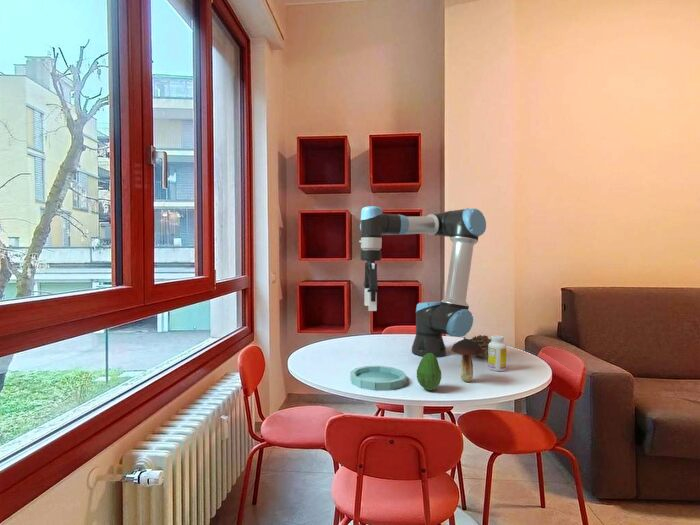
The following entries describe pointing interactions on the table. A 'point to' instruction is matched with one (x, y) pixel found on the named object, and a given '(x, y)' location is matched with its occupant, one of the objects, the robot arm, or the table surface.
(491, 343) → the supplement bottle
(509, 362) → the table surface
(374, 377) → the dish
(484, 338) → the pine cone
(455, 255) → the robot arm
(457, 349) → the decorative mushroom
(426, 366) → the avocado
